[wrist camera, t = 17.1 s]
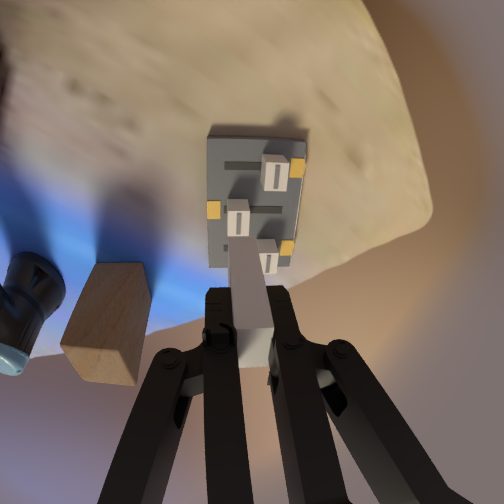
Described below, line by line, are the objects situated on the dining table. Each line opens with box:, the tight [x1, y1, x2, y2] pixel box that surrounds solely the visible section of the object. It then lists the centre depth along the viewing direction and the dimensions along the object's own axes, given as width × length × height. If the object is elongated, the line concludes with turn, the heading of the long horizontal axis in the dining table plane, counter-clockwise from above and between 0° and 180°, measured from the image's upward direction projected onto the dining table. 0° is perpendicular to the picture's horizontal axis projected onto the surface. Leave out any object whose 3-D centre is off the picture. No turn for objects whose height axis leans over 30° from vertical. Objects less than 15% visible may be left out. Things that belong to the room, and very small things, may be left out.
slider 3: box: [256, 239, 279, 274], centre depth 46 cm, size 3×4×4 cm
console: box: [207, 136, 306, 268], centre depth 45 cm, size 14×22×2 cm, turn 177°
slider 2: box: [260, 154, 289, 191], centre depth 39 cm, size 3×4×4 cm
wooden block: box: [60, 262, 152, 386], centre depth 44 cm, size 10×10×20 cm
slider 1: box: [227, 199, 250, 236], centre depth 42 cm, size 3×4×4 cm
